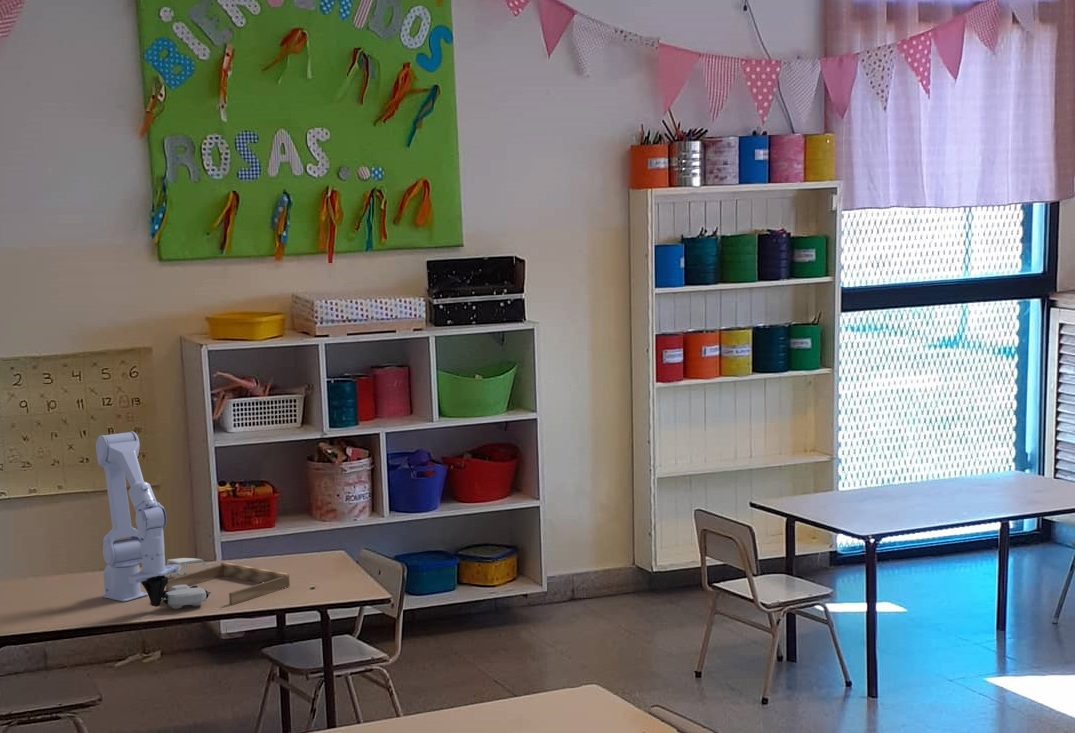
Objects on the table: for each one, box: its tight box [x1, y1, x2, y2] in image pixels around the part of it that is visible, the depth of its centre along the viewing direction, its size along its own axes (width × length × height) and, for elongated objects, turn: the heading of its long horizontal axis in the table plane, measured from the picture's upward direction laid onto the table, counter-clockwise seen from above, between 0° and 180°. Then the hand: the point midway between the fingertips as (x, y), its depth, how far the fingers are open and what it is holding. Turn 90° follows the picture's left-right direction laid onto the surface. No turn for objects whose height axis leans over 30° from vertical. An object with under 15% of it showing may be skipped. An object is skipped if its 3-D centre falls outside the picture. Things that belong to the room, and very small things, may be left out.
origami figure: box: [166, 557, 209, 577], centre depth 386 cm, size 12×8×5 cm
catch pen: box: [165, 561, 291, 606], centre depth 372 cm, size 26×20×4 cm
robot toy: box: [161, 585, 213, 610], centre depth 358 cm, size 12×4×15 cm
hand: (156, 605), depth 352 cm, fingers closed
